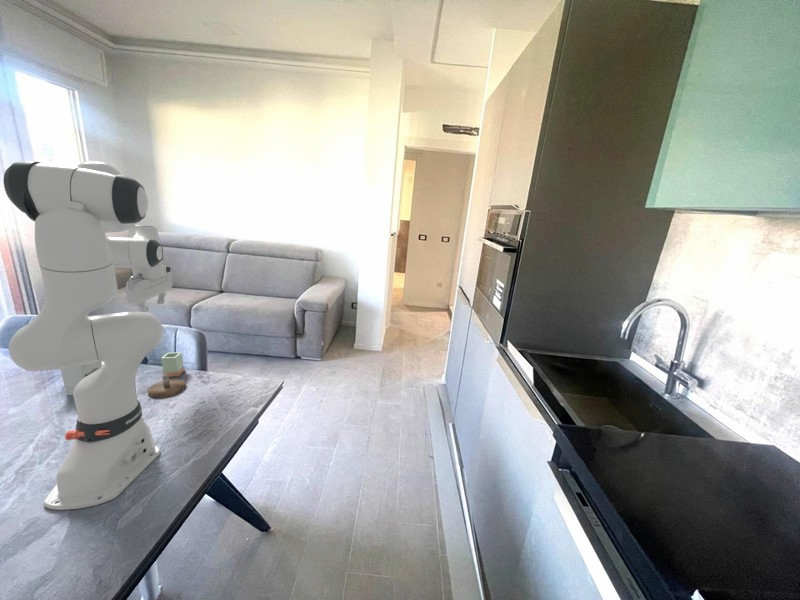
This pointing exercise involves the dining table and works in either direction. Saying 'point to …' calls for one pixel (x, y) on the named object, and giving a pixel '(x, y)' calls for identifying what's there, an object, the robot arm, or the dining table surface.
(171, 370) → the sleeve
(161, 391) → the pin base
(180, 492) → the dining table surface
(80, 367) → the supplement box
